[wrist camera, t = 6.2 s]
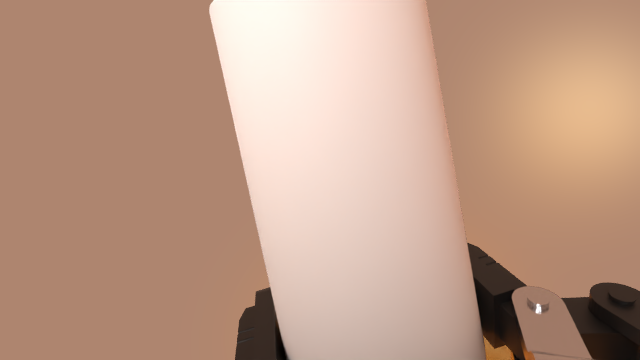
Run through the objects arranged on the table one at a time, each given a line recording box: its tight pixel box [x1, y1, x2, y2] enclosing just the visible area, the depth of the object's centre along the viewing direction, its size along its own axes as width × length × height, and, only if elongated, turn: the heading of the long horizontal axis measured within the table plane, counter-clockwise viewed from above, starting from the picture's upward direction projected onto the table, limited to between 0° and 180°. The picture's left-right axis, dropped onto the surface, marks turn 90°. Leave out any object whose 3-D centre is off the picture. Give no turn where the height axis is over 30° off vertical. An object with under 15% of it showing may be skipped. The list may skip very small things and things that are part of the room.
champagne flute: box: [209, 0, 486, 360], centre depth 11 cm, size 7×7×24 cm
